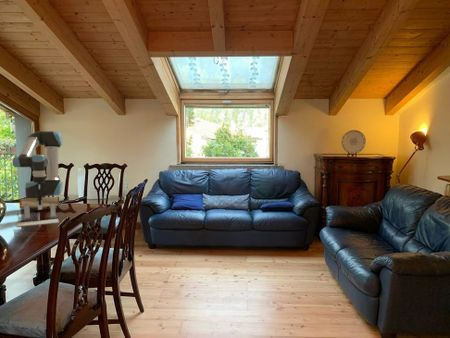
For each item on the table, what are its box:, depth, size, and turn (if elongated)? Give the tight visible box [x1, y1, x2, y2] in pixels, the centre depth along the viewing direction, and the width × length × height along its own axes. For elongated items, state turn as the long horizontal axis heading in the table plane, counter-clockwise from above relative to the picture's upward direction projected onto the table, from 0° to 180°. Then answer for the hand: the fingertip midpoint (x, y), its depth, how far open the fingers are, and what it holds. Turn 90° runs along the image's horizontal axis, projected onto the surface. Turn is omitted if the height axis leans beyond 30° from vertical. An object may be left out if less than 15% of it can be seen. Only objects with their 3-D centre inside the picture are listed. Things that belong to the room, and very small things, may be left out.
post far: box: [48, 203, 58, 220], centre depth 226 cm, size 6×5×11 cm
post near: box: [22, 205, 33, 222], centre depth 218 cm, size 6×5×11 cm
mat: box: [16, 218, 59, 228], centre depth 210 cm, size 10×24×1 cm, turn 120°
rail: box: [19, 195, 60, 209], centre depth 221 cm, size 4×24×6 cm, turn 120°
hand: (40, 208), depth 222 cm, fingers closed on rail, 4 cm apart
